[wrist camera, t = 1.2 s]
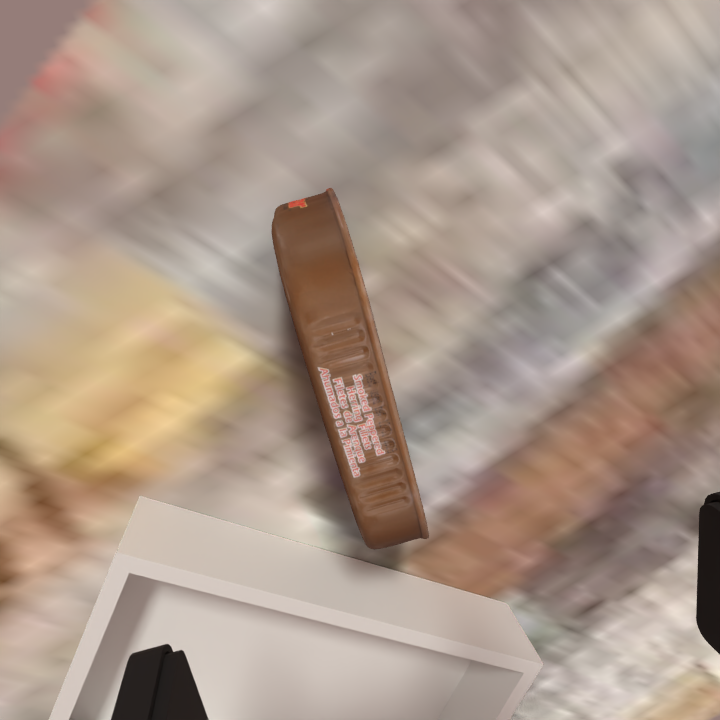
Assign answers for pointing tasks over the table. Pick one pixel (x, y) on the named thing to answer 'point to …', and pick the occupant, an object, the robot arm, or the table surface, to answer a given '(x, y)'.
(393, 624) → the tote
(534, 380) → the table surface
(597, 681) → the table surface
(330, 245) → the tin
